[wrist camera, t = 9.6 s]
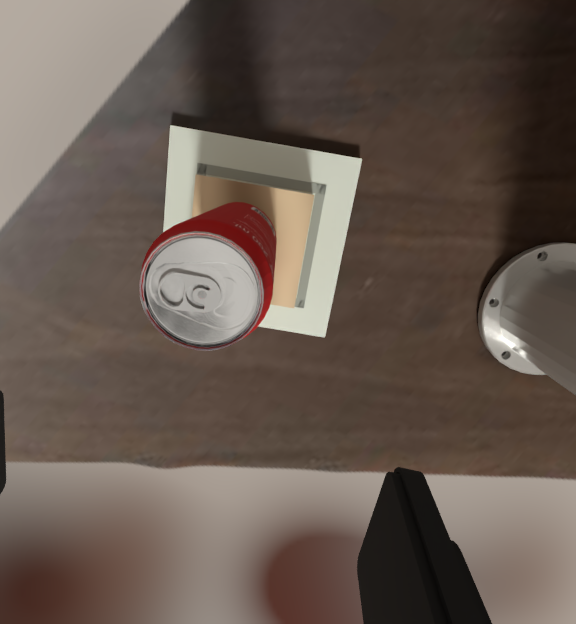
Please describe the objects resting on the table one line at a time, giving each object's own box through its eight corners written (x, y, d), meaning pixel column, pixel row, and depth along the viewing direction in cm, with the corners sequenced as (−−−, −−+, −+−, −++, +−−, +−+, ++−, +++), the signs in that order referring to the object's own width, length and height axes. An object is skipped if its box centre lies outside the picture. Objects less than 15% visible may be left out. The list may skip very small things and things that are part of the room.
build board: (360, 160, 32) (362, 158, 31) (324, 333, 37) (324, 337, 35) (175, 127, 32) (170, 124, 30) (162, 306, 36) (157, 309, 35)
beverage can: (221, 188, 28) (138, 178, 14) (298, 227, 29) (297, 256, 14) (192, 259, 30) (90, 315, 15) (265, 294, 30) (235, 381, 16)
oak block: (312, 195, 32) (314, 194, 28) (294, 296, 34) (294, 308, 31) (208, 177, 32) (195, 174, 28) (198, 279, 34) (185, 290, 30)
